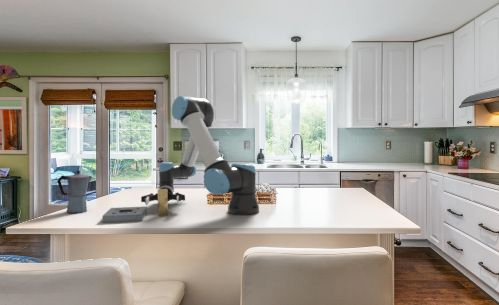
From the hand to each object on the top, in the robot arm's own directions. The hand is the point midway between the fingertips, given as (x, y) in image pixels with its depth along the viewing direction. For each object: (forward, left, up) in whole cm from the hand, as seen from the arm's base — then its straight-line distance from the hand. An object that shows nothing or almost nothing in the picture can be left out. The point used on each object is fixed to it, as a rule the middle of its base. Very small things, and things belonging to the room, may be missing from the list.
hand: (162, 201), depth 144 cm
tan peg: (0, -3, -7) cm, 8 cm away
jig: (+16, -2, -7) cm, 18 cm away
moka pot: (+42, -19, -7) cm, 47 cm away
